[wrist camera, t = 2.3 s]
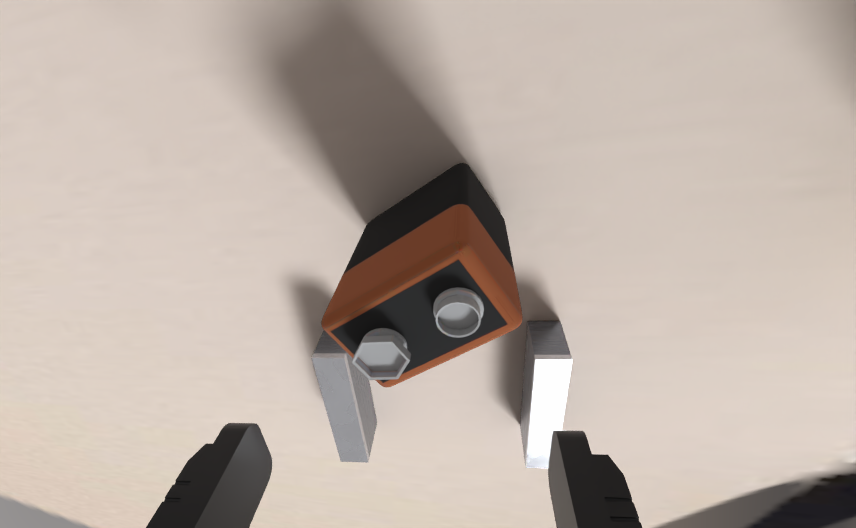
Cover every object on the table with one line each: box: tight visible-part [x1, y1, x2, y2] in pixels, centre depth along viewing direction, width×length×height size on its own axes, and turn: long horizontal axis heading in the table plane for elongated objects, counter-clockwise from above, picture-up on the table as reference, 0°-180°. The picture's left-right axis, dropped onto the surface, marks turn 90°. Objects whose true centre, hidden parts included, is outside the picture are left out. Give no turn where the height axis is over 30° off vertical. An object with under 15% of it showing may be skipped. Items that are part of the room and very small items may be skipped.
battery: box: [322, 163, 522, 387], centre depth 19 cm, size 4×7×10 cm, turn 125°
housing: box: [312, 321, 572, 468], centre depth 28 cm, size 10×15×3 cm, turn 94°
